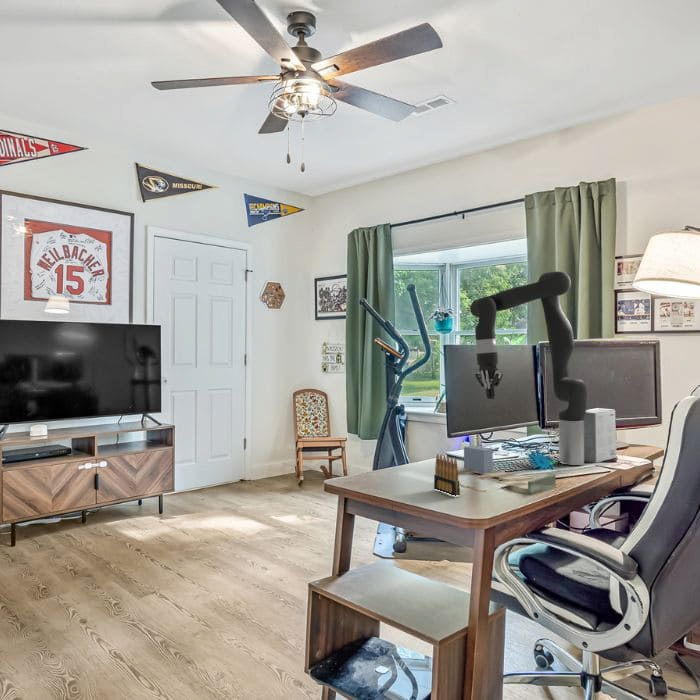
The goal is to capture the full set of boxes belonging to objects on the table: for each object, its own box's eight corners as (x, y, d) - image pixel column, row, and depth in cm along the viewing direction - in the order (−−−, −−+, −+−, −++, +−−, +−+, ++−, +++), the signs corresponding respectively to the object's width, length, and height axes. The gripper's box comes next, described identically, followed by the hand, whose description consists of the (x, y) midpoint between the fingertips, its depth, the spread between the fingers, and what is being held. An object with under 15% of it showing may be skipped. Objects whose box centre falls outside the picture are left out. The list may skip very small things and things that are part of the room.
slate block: (464, 468, 205) (463, 447, 205) (472, 466, 208) (472, 445, 208) (484, 473, 198) (484, 450, 198) (492, 470, 201) (492, 448, 201)
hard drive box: (599, 455, 234) (598, 407, 234) (616, 458, 228) (616, 409, 228) (577, 460, 225) (577, 410, 225) (595, 463, 219) (595, 412, 219)
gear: (535, 471, 199) (526, 447, 206) (527, 480, 203) (519, 457, 210) (562, 473, 202) (552, 450, 209) (553, 482, 206) (544, 459, 213)
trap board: (449, 475, 200) (449, 464, 200) (477, 469, 210) (477, 458, 210) (531, 494, 175) (531, 482, 175) (559, 486, 185) (558, 474, 185)
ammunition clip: (433, 490, 181) (433, 453, 181) (438, 489, 182) (438, 452, 182) (455, 498, 172) (455, 459, 172) (460, 497, 173) (459, 458, 172)
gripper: (507, 350, 201) (511, 398, 201) (482, 352, 213) (486, 397, 213) (491, 351, 198) (495, 400, 198) (467, 353, 210) (471, 399, 209)
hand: (490, 398), depth 205 cm, fingers closed
